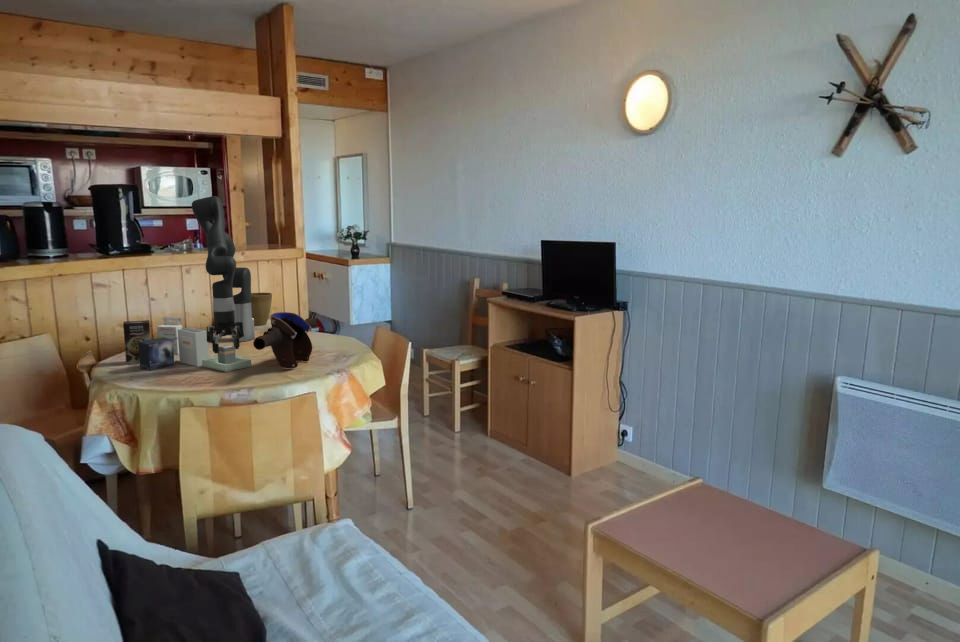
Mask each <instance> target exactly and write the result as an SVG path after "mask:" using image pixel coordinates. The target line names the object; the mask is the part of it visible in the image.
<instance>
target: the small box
mask: <svg viewBox="0 0 960 642" xmlns="http://www.w3.org/2000/svg"><path fill="white" fill-rule="evenodd" d="M138 344H139V360H140V364H139V369H141V370H146V371H148V372H149V371H155V370H158V369H163V368H169V367H173V366H176V365H175V355H174V349H173V339H168V338H165V337H163V338H158V337H157V338H153V339H151V340H145V341H139V342H138Z"/></svg>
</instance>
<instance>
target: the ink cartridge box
mask: <svg viewBox="0 0 960 642" xmlns="http://www.w3.org/2000/svg"><path fill="white" fill-rule="evenodd" d="M172 320H173V321H172ZM162 321H163V324H161V325H157V326H156V327H157V328H156V329H157V331H156V332H157V333H156V334H157V338H163V337H165V338H168V339H173V349H174V356H175V355H176V356H177V355H179V343H178V330H177V329H181V328H183V324H182V318H181V317H164V316H163V318H162Z"/></svg>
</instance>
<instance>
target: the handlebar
mask: <svg viewBox="0 0 960 642" xmlns="http://www.w3.org/2000/svg"><path fill="white" fill-rule="evenodd" d="M270 324H271V327H269V328H267V330H266V331H264V332H263V333H262V334H263V335H260V336H257V337H255V339H253V341H252V343H253V347H254V349H256V350H258V351H259V350H260V351H261V350H264V348H268V347H271V350H272V351H271V352H272V353H273V355H274V357H275V359H276V361H277V364H278V365H279V367H281V368H283V369H295V368H296V369H297V368H298V362H309V360H310V356H311V355H312V351H313V344H312V340H311V339H310V337H309V334H308V333H309V332H310V330H311V329H314V328H316V327H317V325H318V324H317V319H316V318H314V317H312V316H310V317H308V318H306V319H304V318H303V317H302V316H300V315H299V314H297V313H294V312H287V311H286V312H282V311H281V312H275V313H272V314H271V315H270Z"/></svg>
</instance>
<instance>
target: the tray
mask: <svg viewBox="0 0 960 642" xmlns="http://www.w3.org/2000/svg"><path fill="white" fill-rule="evenodd" d="M201 367H204V368H207V369H211V370H216V371H220V372H224V373H229V372H233V371H237V370H241V369H246V368H250V367H252V359H249V358H245V357H240V356H236V362H235V363H231V364H222V363H218V356H214V357H209V358H208V359H203V360H202V365H201Z"/></svg>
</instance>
